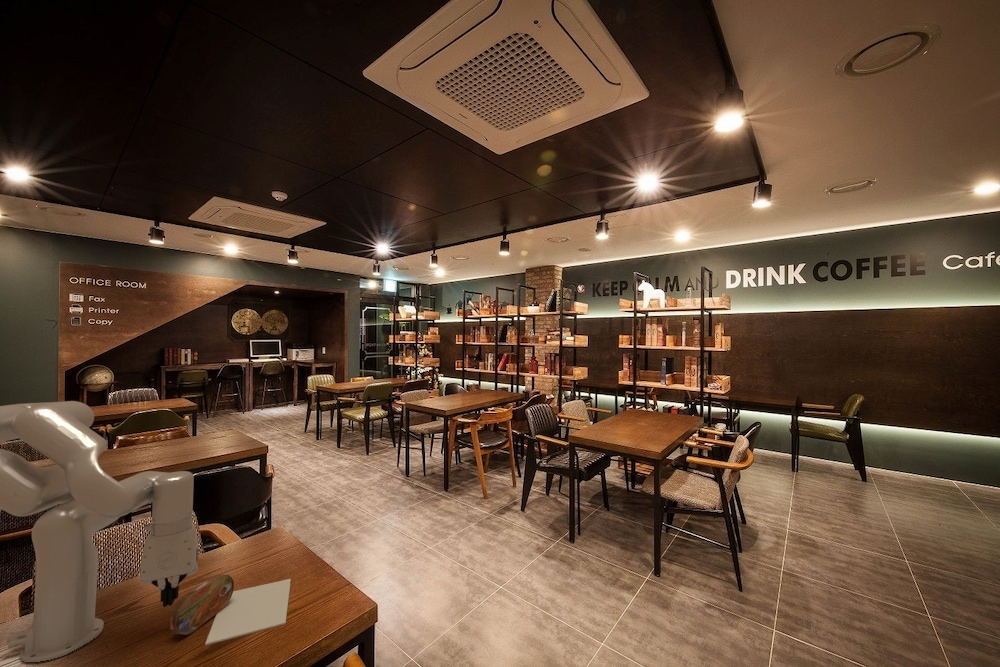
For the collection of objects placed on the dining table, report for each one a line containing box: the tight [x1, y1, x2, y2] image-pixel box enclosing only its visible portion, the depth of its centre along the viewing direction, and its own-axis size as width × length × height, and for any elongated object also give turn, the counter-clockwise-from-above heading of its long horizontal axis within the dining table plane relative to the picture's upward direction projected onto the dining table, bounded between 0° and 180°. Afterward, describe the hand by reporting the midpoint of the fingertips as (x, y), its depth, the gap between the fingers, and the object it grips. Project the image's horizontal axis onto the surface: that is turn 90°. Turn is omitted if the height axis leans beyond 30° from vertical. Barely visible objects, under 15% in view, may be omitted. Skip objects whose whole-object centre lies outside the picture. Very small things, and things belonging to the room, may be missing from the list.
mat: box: [205, 578, 292, 646], centre depth 99 cm, size 16×20×1 cm
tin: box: [168, 574, 235, 636], centre depth 95 cm, size 15×3×8 cm, turn 168°
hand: (169, 602), depth 92 cm, fingers closed
